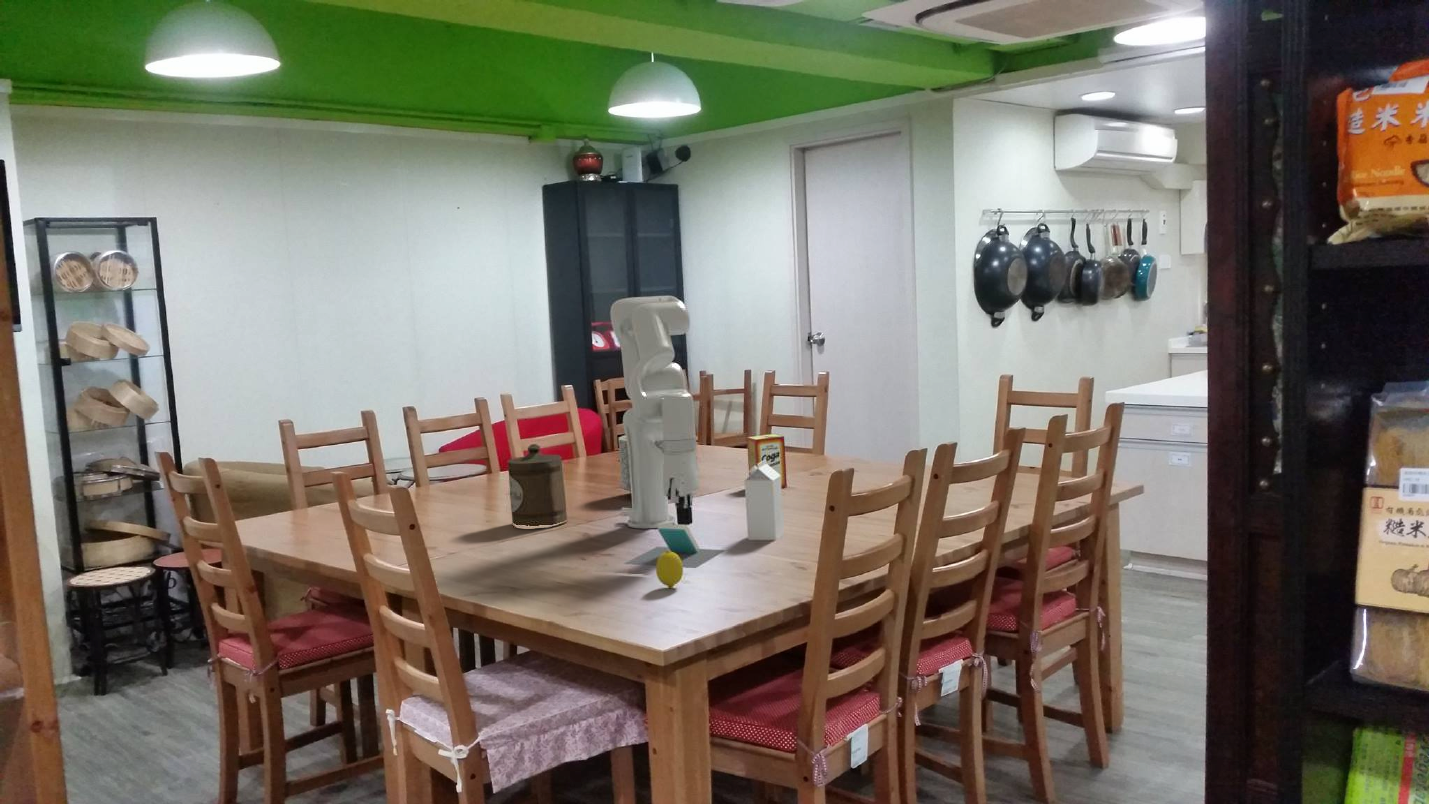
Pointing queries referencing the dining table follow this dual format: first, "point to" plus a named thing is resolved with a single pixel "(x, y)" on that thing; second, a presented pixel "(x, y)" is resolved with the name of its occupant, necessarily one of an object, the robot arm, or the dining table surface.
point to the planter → (625, 461)
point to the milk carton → (764, 503)
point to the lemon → (669, 568)
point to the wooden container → (537, 489)
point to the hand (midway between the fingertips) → (685, 523)
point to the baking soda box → (768, 453)
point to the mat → (686, 558)
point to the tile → (678, 538)
